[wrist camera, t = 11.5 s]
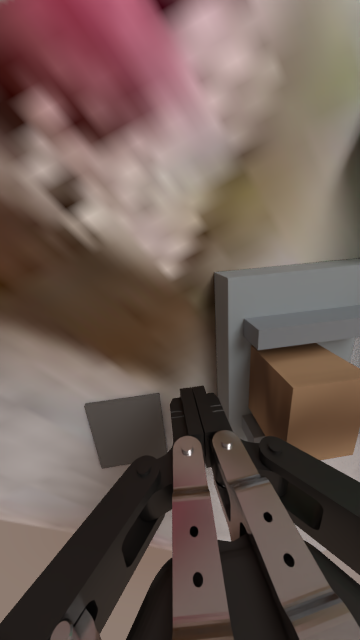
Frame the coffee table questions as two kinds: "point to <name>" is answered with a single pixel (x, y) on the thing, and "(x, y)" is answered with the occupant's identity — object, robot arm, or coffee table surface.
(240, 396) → the rail board
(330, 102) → the coffee table surface
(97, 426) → the mat
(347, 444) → the block
